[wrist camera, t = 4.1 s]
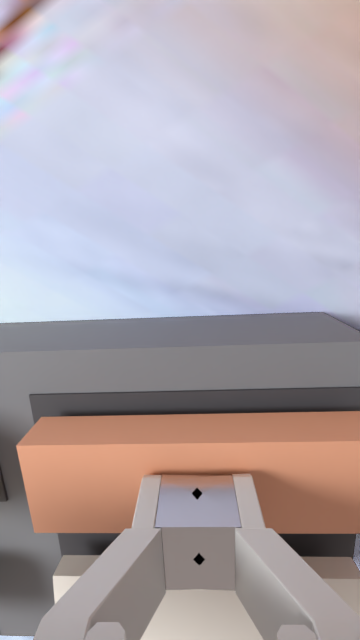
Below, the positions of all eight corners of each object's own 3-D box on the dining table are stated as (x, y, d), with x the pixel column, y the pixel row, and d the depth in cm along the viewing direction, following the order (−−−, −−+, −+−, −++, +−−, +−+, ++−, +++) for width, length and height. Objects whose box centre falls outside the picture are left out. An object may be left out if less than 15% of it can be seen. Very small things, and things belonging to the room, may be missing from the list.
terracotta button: (364, 410, 9) (395, 440, 8) (355, 493, 10) (381, 533, 8) (41, 417, 9) (15, 445, 8) (55, 494, 10) (34, 533, 9)
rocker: (345, 547, 11) (366, 582, 9) (344, 671, 11) (365, 721, 10) (68, 545, 11) (51, 578, 10) (76, 664, 11) (60, 711, 10)
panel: (324, 311, 13) (383, 342, 9) (307, 546, 16) (344, 646, 12) (-74, 326, 14) (-182, 358, 10) (-16, 545, 17) (-80, 636, 13)
